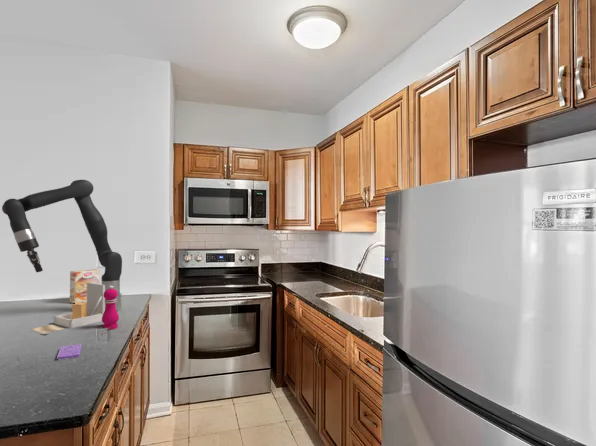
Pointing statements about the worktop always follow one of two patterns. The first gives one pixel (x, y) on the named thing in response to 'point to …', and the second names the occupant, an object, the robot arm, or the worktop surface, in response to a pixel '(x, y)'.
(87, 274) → the coffeecake box
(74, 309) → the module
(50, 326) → the board
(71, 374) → the worktop surface
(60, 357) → the sponges
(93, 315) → the equipment case
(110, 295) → the pepper mill
